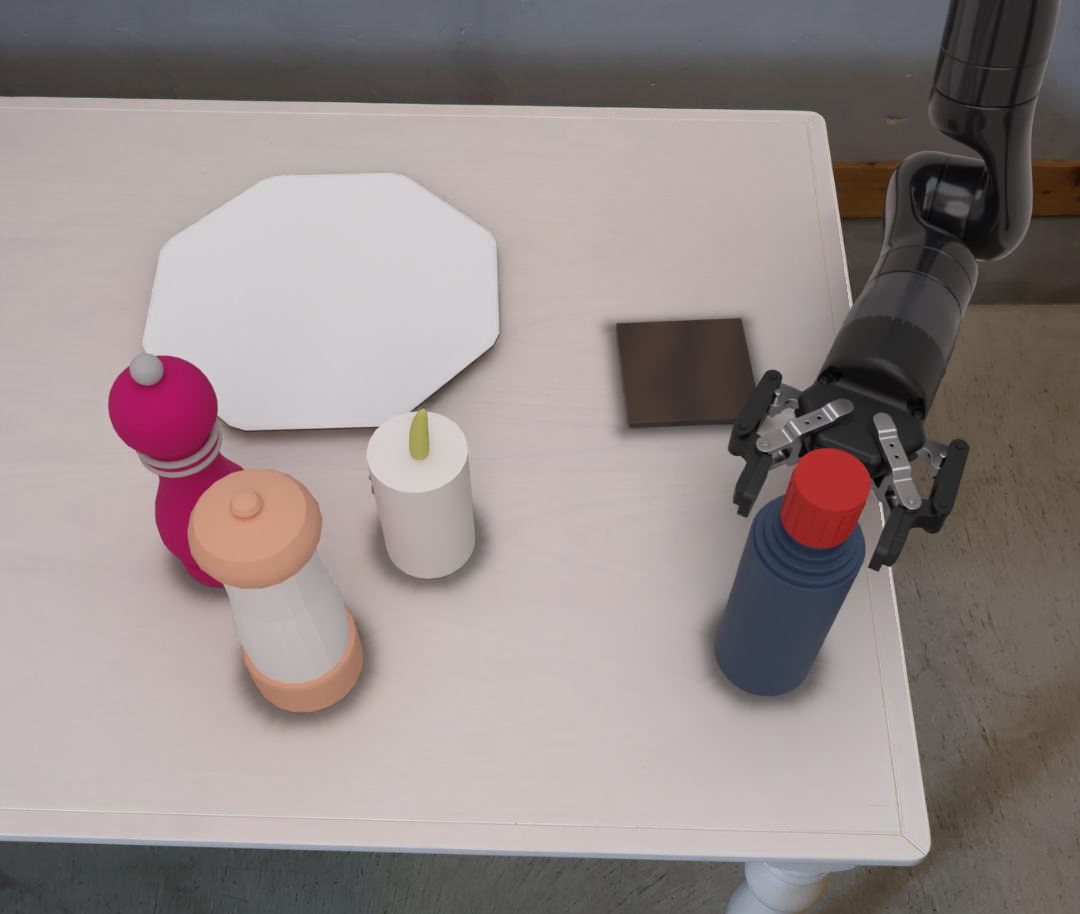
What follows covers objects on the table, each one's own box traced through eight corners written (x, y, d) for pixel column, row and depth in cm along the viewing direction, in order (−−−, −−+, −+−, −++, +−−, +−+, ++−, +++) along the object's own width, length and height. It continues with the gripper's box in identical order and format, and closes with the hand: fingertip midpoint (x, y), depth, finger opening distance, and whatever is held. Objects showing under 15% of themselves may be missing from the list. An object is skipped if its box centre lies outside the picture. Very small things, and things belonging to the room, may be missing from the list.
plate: (129, 445, 82) (123, 432, 81) (178, 190, 96) (173, 176, 95) (502, 434, 83) (501, 421, 81) (494, 182, 97) (494, 169, 96)
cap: (845, 486, 61) (862, 445, 57) (860, 547, 59) (879, 509, 55) (774, 489, 60) (787, 449, 57) (786, 551, 58) (801, 512, 55)
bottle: (802, 606, 75) (878, 431, 59) (820, 693, 72) (906, 533, 55) (708, 611, 75) (758, 437, 58) (722, 698, 72) (779, 540, 55)
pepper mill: (159, 536, 78) (54, 344, 61) (252, 489, 80) (176, 291, 63) (202, 612, 75) (103, 432, 58) (298, 562, 77) (231, 373, 60)
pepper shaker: (326, 731, 70) (263, 582, 54) (230, 684, 72) (141, 526, 56) (384, 639, 74) (342, 472, 57) (291, 596, 75) (225, 423, 59)
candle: (400, 493, 80) (374, 354, 67) (486, 513, 79) (477, 376, 66) (369, 565, 77) (337, 434, 64) (459, 588, 76) (444, 459, 63)
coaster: (740, 322, 89) (741, 317, 88) (760, 421, 83) (762, 417, 83) (615, 328, 88) (616, 322, 88) (628, 428, 83) (629, 423, 83)
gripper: (801, 280, 74) (709, 457, 66) (1014, 355, 70) (943, 550, 63) (779, 355, 80) (693, 524, 72) (974, 427, 77) (905, 612, 69)
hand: (809, 536), depth 67 cm, fingers open, 8 cm apart
